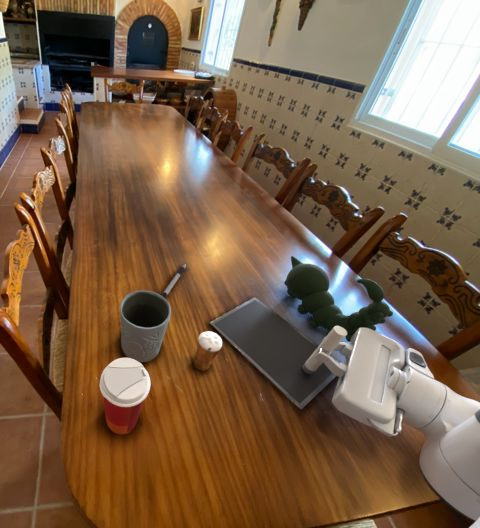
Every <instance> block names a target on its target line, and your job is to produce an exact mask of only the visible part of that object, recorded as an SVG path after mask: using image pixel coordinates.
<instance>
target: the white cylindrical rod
mask: <svg viewBox="0 0 480 528" xmlns="http://www.w3.org/2000/svg"><path fill="white" fill-rule="evenodd" d="M346 335H347V331H346V330H345V329H344V328H342V327H340V326H335V327H334V328H333V329H332V330H331V331H330V333H329V334H328V335H327V336H325V337H326V338H325V337H324V338H325V339H324V338H323V339H324V340H323V339H322V340H323V341H322V340H321V342H322V343H321V342H320V344H319V345H318V348H317V349H316V350H315V351H314V353H313V354H312V355H311V356H310V358H309V359H308V360H307V361H306V363H305V364H304V365H303V370H304V371H305V372H306V373H307V374H313V373H314V372H315V371H316V370H317V369H318V367H319V366H320V365H321V364H322V363H323V362H321V361H320V360H318V359H316V355H317V352H318V351H319V350H320V349H324V350H326V351H328V352H330V353H331V354H332V353H333V352H334V351H335V350H334V349H335V348H336V347H337V346H338V344H339V343H340V342H343V340H344V339H345V336H346Z"/></svg>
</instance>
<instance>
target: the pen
mask: <svg viewBox="0 0 480 528" xmlns="http://www.w3.org/2000/svg"><path fill="white" fill-rule="evenodd" d="M186 269H187V264H186V263H185V264H182V265H181V267H180V268H179V270H178V271H177V272H176V273H175V276H173V278H172V280H171V281H170V282H169V284H168V285H167V287H166V288H165V289H164V291H163V292H162V294H161V296H162V297H164V298H165V299H166V297H167V296H168V295H169V294H170V292H171V291H172V289H173V287H174V286H175V284H176V283H177V281H178V280H179V278H180V277H181V276H182V274H183V273H184V271H186Z"/></svg>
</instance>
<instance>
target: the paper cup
mask: <svg viewBox="0 0 480 528" xmlns="http://www.w3.org/2000/svg"><path fill="white" fill-rule="evenodd" d="M98 386H99V390H100V393H101V395H102V397H103V407H104V414H105V421H106V425H107V427H108V428H109V430H110V431H112V432H113V433H115V434H116V435H117V434H118V435H126V434H129V433H130V432H132V430H134V429H135V427H136V425H137V422H138V420H139V417H140V414H141V411H142V408H143V405H144V401H145V399H146V398H147V397H148V395H149V393H150V390H151V378H150V375H149V372H148V370H147V369H146V368H145V367H144V365H143V364H142V362H138V361H136V360H134V359H131V358H129V357H119V358H116V359H114V360H113V361H111V362H110V363H109V364H108V365H107V366H105V367H104V369H103V370H102V373H101V375H100V380H99V384H98Z"/></svg>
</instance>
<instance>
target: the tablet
mask: <svg viewBox="0 0 480 528" xmlns="http://www.w3.org/2000/svg"><path fill="white" fill-rule="evenodd" d="M208 326H209V327H211V329H213V330H214V331H215V333H216V334H217V335H218V336H219V337H220V338H221V339H223V340H224V341H225V342H227V344H229V346H231V347H232V348H233V350H235V351H236V353H238V354H239V355H240V357H242V358H243V359H244V360H245V361H246V362H247V363H248V364H249V365H250V366H251V367H253V368H254V370H256V371H257V373H259V374H260V375H261V377H263V378H264V379H265V380H266V381H267V382H268V383H269V384H270V385H272V387H273V388H275V390H277V391H278V393H280V395H282V396H283V397H284V398H285V399H286V400H287V401H288V402H290V404H291V405H292V406H294V407H295V408H296V409H297V410H298V412H301V411H302V410H303V409H304V408H305V407H306V406H307V405H308V404H309V403H310V402H311V401H312V400H314V398H315V397H316V396H317V395H319V393H320V392H322V391H323V390H324V389H325V388H326V387H327V386H328V385H329V384H330V383H331V382H332V381H333V380H335V378H336V377H337V376H336V375H334V374H333V373H332V372H331V371H330V370H329V368H328V367H327V366H326V365H325V363H322V364H321V365H320V366H319V367H318V369H317V370H316V371H315V372H314V373H313V374H307V373H306V372H305V371H304V370H303V365H304V364H305V363H306V361H307V360H308V359H309V358H310V356H311V355H312V354H313V353H314V351H315V350H316V349H317V348H318V346H319V345H318V344H317V343H316V342H314V341H313V340H312V339H311V338H310V337H308V336H306V335H305V334H304V333H303V332H301V331H300V330H299V329H297V328H296V327H295V326H294V325H292V324H291V323H290V322H289V321H287V320H286V319H284V318H283V317H282V316H280V315H279V314H278V313H276V311H274V310H273V309H271V308H270V307H268V305H266V304H265V303H264V302H262V301H261V300H260V299H258V297H256V296H254V297H252V298H250V299H249V300H247V301H245V302H243V303H242V304H240V305H238V306H236V307H234V308H233V309H230V310H229V311H228V312H226V313H224V314H222V315H221V316H219V317H217V318H216V319H214V320H212V321H210V322H209V324H208ZM330 356H331V357H332V358H333V359H334V360H335V361H336V362H337V363H338V364H340V363H341V362H340V361H339V360H337V359H336V358H335V357H334V356H333V355H330Z"/></svg>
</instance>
